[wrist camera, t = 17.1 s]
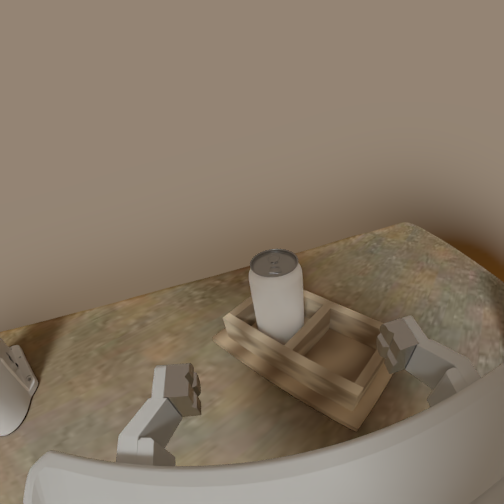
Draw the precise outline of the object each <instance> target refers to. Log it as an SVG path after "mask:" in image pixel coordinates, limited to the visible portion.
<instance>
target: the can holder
mask: <svg viewBox="0 0 504 504" xmlns="http://www.w3.org/2000/svg"><path fill="white" fill-rule="evenodd" d="M303 297H304V326H303V327H302V328H301V329H300V330H299V331H298V332H297V333H296V334H295V335H294V336H293V337H292V338H291V339H290V340H289V341H288V342H287V343H286V344H285V345H282V344H281V343H279V342H277V341H276V340H274V339H272V338H270V337H269V336H267V335H265V334H263V333H262V332H260V331H258V326H257V321H256V316H255V311H254V305H253V300H252V295H251V296H250V297H249V298H247V299H246V300H245V301H243V302H242V303H241V304H240V305H238V306H237V307H236V308H234V309H233V310H232V311H231V312H229V313H228V314H227V315H225V316H224V317H223V320H224V324H225V328H224V329H222V330H221V331H220V332H219V333H217V334H216V335H215V336H213V337H212V338H213V341H214V342H215V343H216V344H218V345H219V346H220V347H222V348H223V349H224V350H226V351H227V352H229V353H230V354H231V355H233V356H234V357H236V358H237V359H238V360H240V361H241V362H243V363H244V364H245V365H247V366H248V367H250V368H251V369H253V370H254V371H256V372H257V373H259V374H260V375H262V376H263V377H265V378H266V379H268V380H269V381H271V382H272V383H274V384H275V385H277V386H278V387H280V388H281V389H283V390H284V391H286V392H288V393H289V394H291V395H292V396H294V397H296V398H297V399H299V400H301V401H302V402H304V403H306V404H307V405H309V406H311V407H312V408H314V409H316V410H317V411H319V412H321V413H323V414H324V415H326V416H328V417H330V418H331V419H333V420H335V421H337V422H339V423H340V424H342V425H344V426H346V427H348V428H350V429H352V430H353V431H355V432H357V430H358V429H359V428H360V426H361V425H362V423H363V422H364V420H365V419H366V417H367V416H368V414H369V413H370V411H371V410H372V408H373V407H374V405H375V404H376V402H377V400H378V399H379V397H380V396H381V394H382V392H383V391H384V389H385V387H386V386H387V384H388V382H389V380H390V379H391V377H392V375H393V373H392V374H389V372H388V370H387V368H386V366H385V364H384V360H385V358H383V357H381V356H380V355H379V353H378V350H377V347H376V340H377V336H378V335H379V334H380V333H381V332H380V330H379V329H380V326H381V325H382V324H384V323H382V322H380V321H377V320H375V319H373V318H370V317H368V316H365V315H363V314H361V313H358V312H356V311H353V310H351V309H349V308H346V307H344V306H341V305H339V304H337V303H334V302H332V301H330V300H327V299H325V298H323V297H320V296H318V295H315V294H313V293H311V292H308V291H306V290H304V289H303Z"/></svg>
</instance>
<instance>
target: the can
mask: <svg viewBox="0 0 504 504" xmlns="http://www.w3.org/2000/svg"><path fill="white" fill-rule="evenodd" d="M249 283H250V289H251V294H252V300H253V305H254V311H255V316H256V321H257V326H258V331H260V332H262V333H263V334H265V335H267V336H269V337H270V338H272V339H274V340H276V341H277V342H279V343H281V344H282V345H285V344H286V343H287V342H288V341H289V340H290V339H291V338H292V337H293V336H294V335H295V334H296V333H297V332H298V331H299V330H300V329H301V328H302V327H303V326H304V297H303V275H302V268H301V266H300V264H299V263H298V258H297V256H296V255H295V254H294V253H293V252H291V251H288V250H285V249H270V250H266V251H263V252H261V253H259V254H257V255H256V256H254V257H253V258H252V260H251V262H250V271H249Z"/></svg>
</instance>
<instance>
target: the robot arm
mask: <svg viewBox="0 0 504 504" xmlns="http://www.w3.org/2000/svg"><path fill="white" fill-rule="evenodd" d="M379 330H380V332H381V333H380V334H379V335H378V336H377V340H376V347H377V350H378V353H379V355H380V356H381V357H383V358H385V360H384V364H385V366H386V368H387V370H388V372H389V374H392V373H395V372H398V371H401V370H403V369H405V370H406V371H408V372H409V373H410V374H412V375H413V376H414V377H416V378H417V379H419V380H420V381H421V382H423V383H424V384H426V385H427V386H428V387H430V388H431V389H433V391H432V392H431V394H430V395H429V396H428V398H427V401H428V403H429V405H430V408H428V409H426V410H424V411H422V412H420V413H418V414H415V415H413V416H411V417H409V418H407V419H404V420H402V421H400V422H397V423H395V424H393V425H390V426H388V427H385V428H383V429H380V430H377V431H375V432H372V433H369V434H366V435H363V436H360V437H358V438H354V439H351V440H348V441H345V442H342V443H338V444H335V445H331V446H328V447H324V448H320V449H316V450H312V451H308V452H304V453H299V454H294V455H289V456H284V457H279V458H273V459H267V460H260V461H253V462H245V463H236V464H225V465H209V466H175V457H174V456H173V455H172V454H171V453H169V452H168V451H167V450H165V449H164V448H165V447H166V445H167V443H168V442H169V440H170V438H171V437H172V435H173V433H174V432H175V430H176V428H177V427H178V425H179V423H180V421H181V420H182V417H187V416H198V415H201V401H200V400H199V398H198V396H199V395H200V393H201V387H200V381H199V378H198V375H197V373H195V372H194V367H193V365H192V364H191V363H186V364H173V365H158V366H156V367H155V370H154V378H153V387H152V397H151V399H148V400H147V401H146V402H145V403H144V405H143V406H142V407H141V408H140V410H139V411H138V412H137V413H136V415H135V416H134V417H133V418H132V420H131V421H130V422H129V423H128V425H127V426H126V427H125V428H124V430H123V431H122V432H121V433H120V435H119V438H118V447H117V457H116V462H111V461H104V460H98V459H92V458H86V457H81V456H76V455H72V454H67V453H63V452H59V451H55V450H50V451H48V452H46V453H45V454H44V455H43V456H42V457H41V458H40V459H38V461H37V462H36V463H35V464H34V465H33V466H32V467H31V468H30V470H29V473H28V476H27V480H26V485H25V491H24V499H23V504H504V362H503V363H502V364H500V365H499V366H498V367H496V368H495V369H493V370H492V371H490V372H489V373H488V374H486V375H485V376H483V377H482V378H481V377H480V375H479V374H478V372H477V371H476V369H475V368H474V366H473V364H472V363H471V361H470V360H469V358H467V357H465V356H463V355H461V354H459V353H457V352H455V351H453V350H452V349H450V348H448V347H446V346H444V345H442V344H440V343H438V342H436V341H434V340H432V339H430V340H428V338H427V337H426V335H425V334H424V332H423V331H422V329H421V328H420V326H419V325H418V323H417V322H416V321H415V319H414V318H413V317H412V316H411V315H409V316H406V317H403V318H399V319H396V320H393V321H390V322H387V323H384V324H382V325H381V326H380V329H379ZM37 386H38V381H37V379H36V377H35V375H34V373H33V371H32V369H31V367H30V365H29V363H28V361H27V359H26V357H25V355H24V353H23V351H22V348H21V347H20V346H19V345H14V346H11V347H8V346H7V345H6V343H5V342H4V341H3V340H2V339H1V338H0V436H4V435H8V434H10V433H11V432H13V431H14V430H15V429H16V428H17V427H18V426H19V425H20V424H21V422H22V421H23V419H24V417H25V415H26V413H27V410H28V407H29V404H30V400H31V397H32V395H33V393H34V392H35V390H36V388H37Z"/></svg>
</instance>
